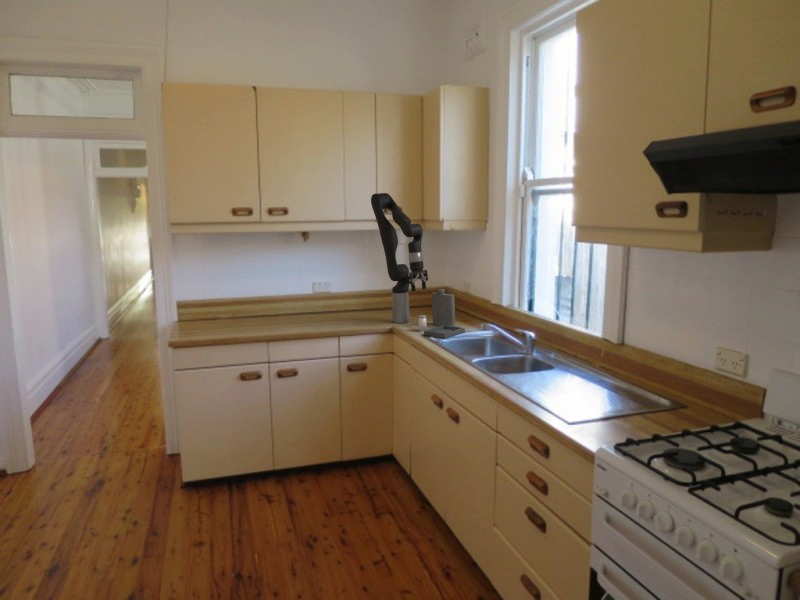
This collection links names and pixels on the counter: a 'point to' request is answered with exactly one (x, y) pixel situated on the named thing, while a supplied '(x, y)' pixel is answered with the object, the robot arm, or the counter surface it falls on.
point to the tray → (444, 331)
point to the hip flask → (443, 308)
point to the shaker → (422, 323)
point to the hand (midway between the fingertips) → (419, 290)
